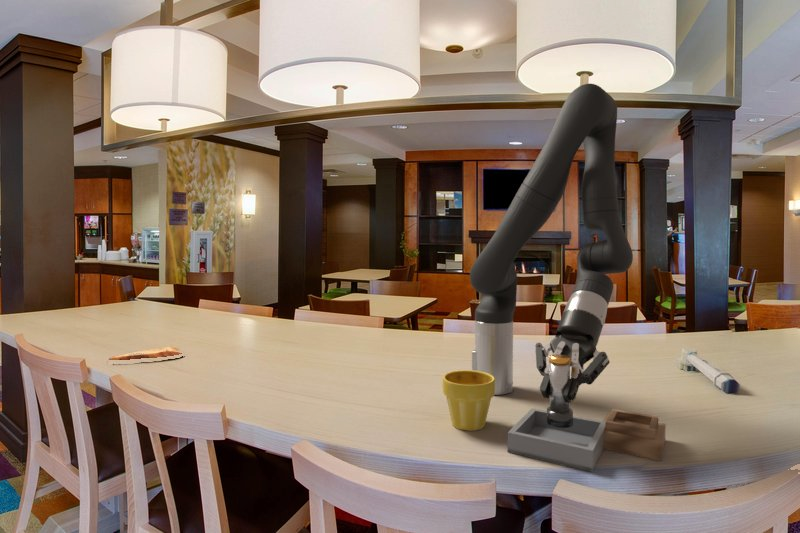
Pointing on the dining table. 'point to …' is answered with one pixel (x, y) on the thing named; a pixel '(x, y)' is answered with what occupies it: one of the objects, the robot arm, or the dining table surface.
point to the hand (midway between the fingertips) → (555, 397)
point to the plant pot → (468, 397)
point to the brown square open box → (634, 434)
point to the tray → (558, 440)
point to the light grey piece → (707, 370)
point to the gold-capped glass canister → (559, 392)
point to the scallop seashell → (149, 354)
